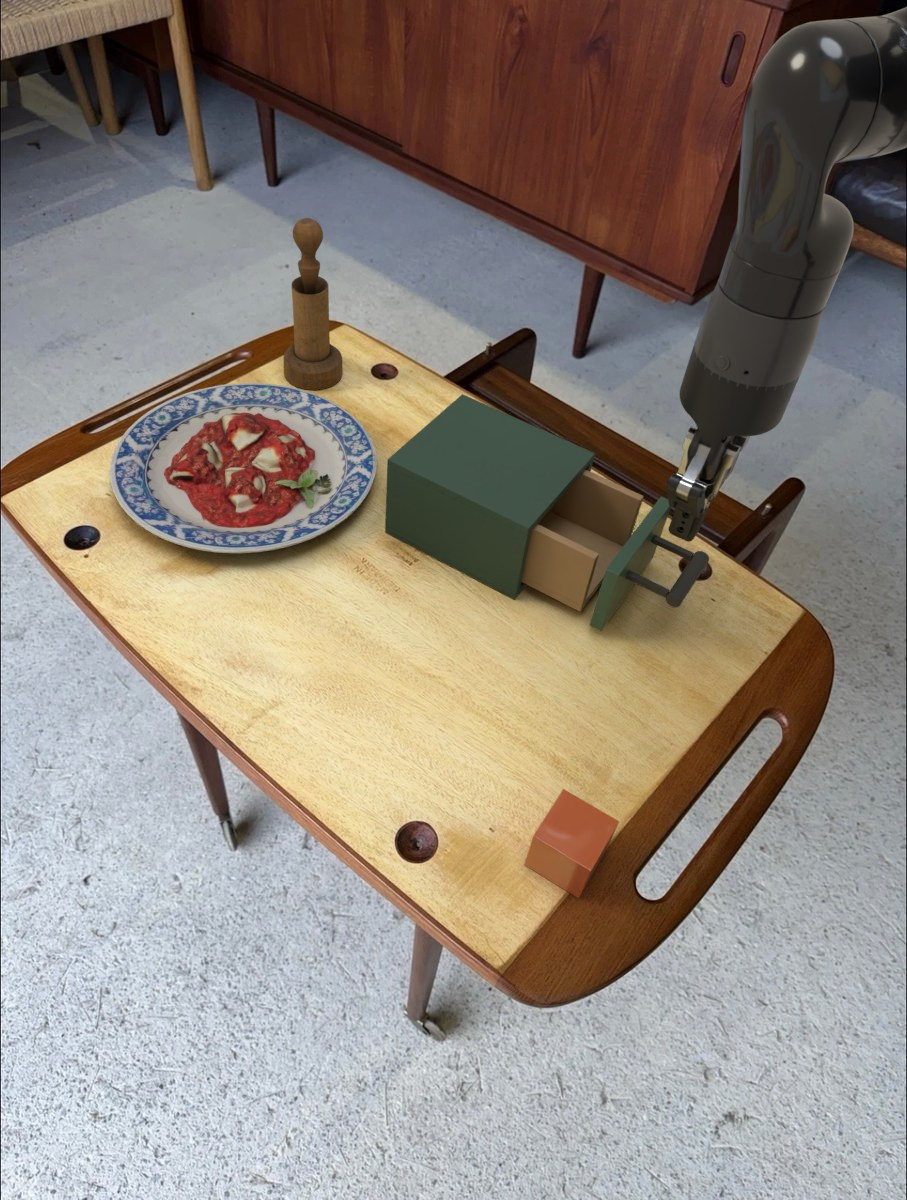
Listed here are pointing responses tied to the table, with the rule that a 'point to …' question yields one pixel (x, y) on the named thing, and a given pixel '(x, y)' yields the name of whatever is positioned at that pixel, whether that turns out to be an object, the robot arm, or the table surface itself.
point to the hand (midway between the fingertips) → (682, 532)
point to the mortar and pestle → (311, 318)
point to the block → (570, 843)
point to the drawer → (602, 548)
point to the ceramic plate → (243, 468)
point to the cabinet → (478, 490)
